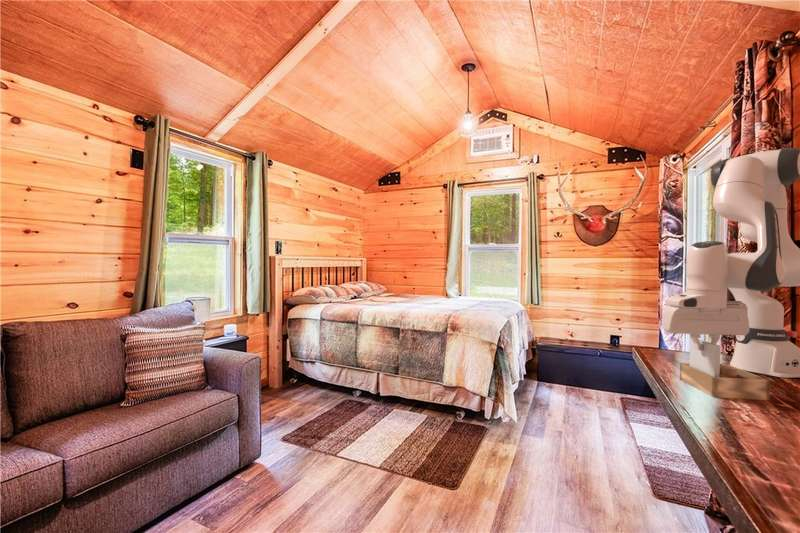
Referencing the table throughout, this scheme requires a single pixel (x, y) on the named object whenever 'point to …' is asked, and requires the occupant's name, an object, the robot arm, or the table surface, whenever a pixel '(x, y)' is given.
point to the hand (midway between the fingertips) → (704, 350)
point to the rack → (727, 384)
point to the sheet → (706, 358)
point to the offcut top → (728, 371)
